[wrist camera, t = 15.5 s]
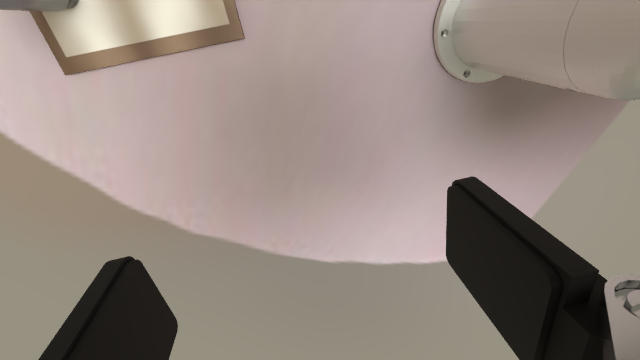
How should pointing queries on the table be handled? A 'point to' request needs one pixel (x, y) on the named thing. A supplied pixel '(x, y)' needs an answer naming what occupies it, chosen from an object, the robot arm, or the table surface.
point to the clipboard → (134, 30)
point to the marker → (37, 5)
